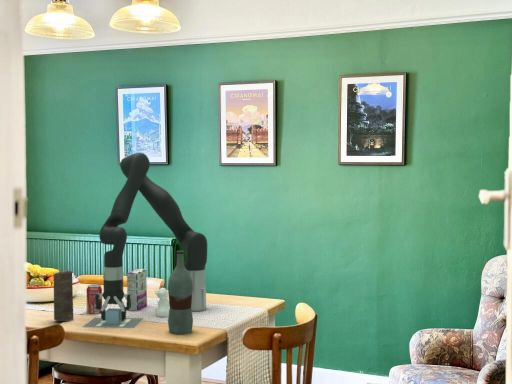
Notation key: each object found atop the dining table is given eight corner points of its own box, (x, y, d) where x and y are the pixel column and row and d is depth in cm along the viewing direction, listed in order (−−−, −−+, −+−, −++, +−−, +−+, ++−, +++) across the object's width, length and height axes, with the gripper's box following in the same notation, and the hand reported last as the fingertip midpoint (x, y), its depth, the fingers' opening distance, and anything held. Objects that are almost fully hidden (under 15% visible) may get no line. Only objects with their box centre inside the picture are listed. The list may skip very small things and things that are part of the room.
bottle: (163, 333, 242) (162, 251, 241) (175, 327, 251) (174, 249, 250) (186, 335, 239) (186, 253, 238) (197, 329, 247) (197, 250, 246)
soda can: (88, 316, 270) (87, 287, 270) (85, 313, 276) (85, 284, 276) (103, 314, 273) (103, 286, 272) (100, 311, 279) (100, 283, 278)
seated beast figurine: (178, 315, 273) (178, 286, 272) (171, 319, 264) (171, 289, 264) (157, 314, 275) (156, 285, 274) (149, 318, 266) (149, 289, 266)
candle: (62, 324, 256) (62, 273, 255) (49, 322, 260) (49, 271, 259) (77, 320, 262) (77, 270, 262) (64, 318, 266) (64, 269, 266)
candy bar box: (136, 305, 291) (136, 268, 291) (147, 306, 290) (147, 269, 290) (126, 311, 280) (126, 272, 280) (137, 311, 279) (137, 272, 279)
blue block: (121, 321, 259) (121, 308, 259) (118, 324, 254) (118, 311, 254) (109, 320, 259) (109, 308, 259) (105, 323, 254) (105, 311, 254)
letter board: (144, 319, 264) (144, 318, 264) (134, 329, 248) (134, 327, 248) (94, 319, 265) (94, 317, 265) (81, 328, 249) (81, 327, 249)
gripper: (134, 276, 259) (134, 318, 260) (98, 276, 260) (98, 318, 261) (129, 279, 252) (129, 323, 252) (92, 279, 253) (92, 322, 253)
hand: (113, 320), depth 257 cm, fingers open, 7 cm apart
